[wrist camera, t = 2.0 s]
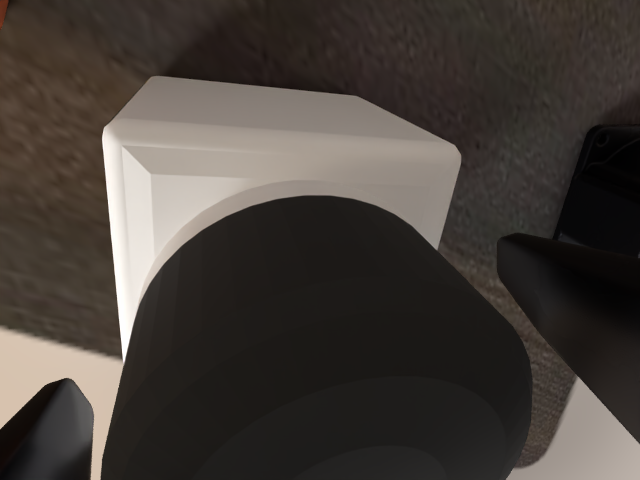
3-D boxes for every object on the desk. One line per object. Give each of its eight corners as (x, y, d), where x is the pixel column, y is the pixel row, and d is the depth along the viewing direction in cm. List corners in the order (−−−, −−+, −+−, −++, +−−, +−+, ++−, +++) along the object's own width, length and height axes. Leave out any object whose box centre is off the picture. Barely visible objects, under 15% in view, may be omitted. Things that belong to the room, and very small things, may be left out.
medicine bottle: (145, 73, 13) (-65, 273, 3) (362, 95, 15) (711, 263, 5) (155, 272, 16) (71, 717, 6) (334, 270, 18) (508, 604, 8)
